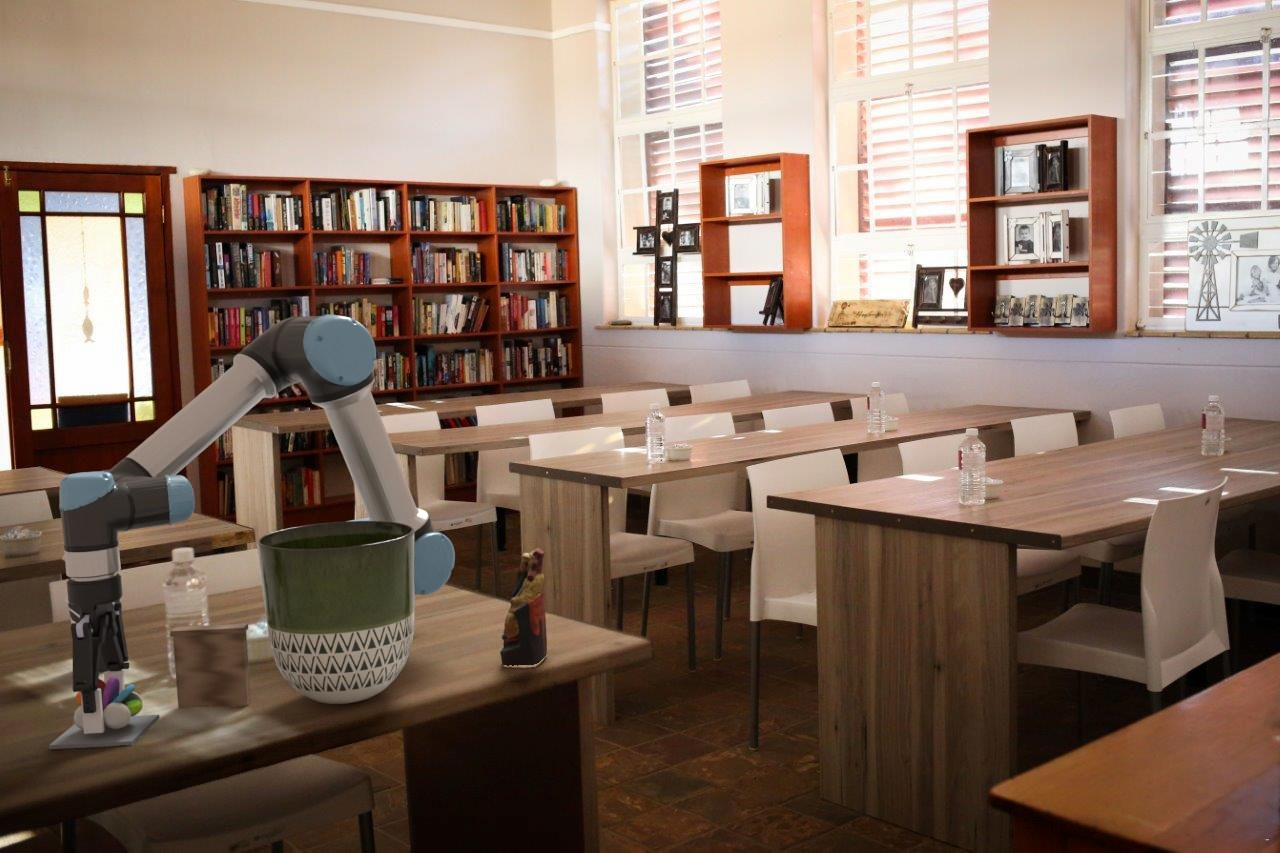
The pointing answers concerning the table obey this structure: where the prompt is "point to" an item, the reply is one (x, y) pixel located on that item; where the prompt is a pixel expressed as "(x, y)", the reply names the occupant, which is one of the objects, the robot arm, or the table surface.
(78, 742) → the pad
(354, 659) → the planter
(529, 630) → the statue
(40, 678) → the table surface
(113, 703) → the rainbow petal cluster
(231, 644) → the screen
